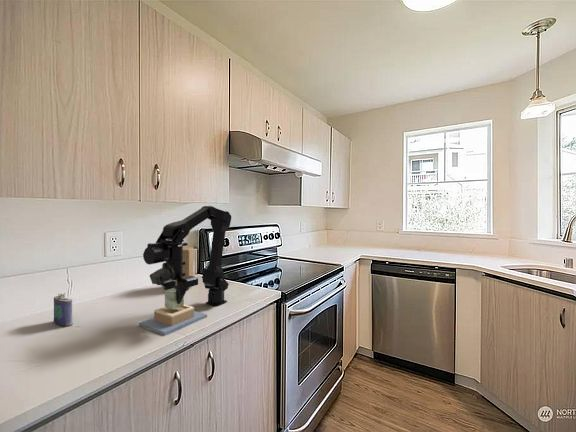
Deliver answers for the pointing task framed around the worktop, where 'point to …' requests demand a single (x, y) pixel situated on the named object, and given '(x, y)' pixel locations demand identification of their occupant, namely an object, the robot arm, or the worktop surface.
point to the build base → (170, 328)
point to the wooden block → (188, 262)
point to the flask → (62, 311)
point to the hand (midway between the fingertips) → (174, 302)
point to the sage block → (172, 299)
